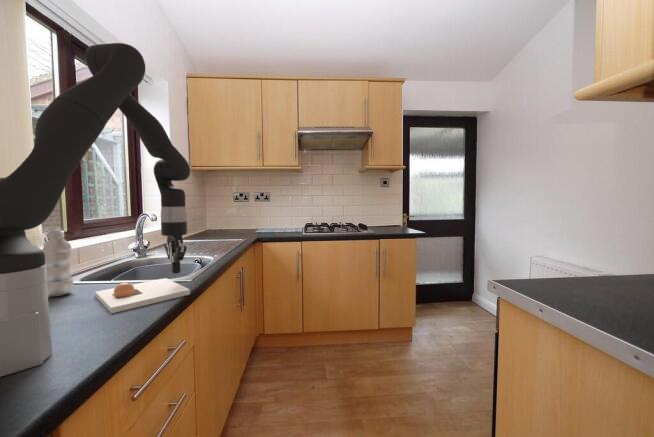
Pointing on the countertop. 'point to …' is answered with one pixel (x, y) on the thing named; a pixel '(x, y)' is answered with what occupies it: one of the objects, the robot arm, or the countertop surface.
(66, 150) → the robot arm
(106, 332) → the countertop surface
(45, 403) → the countertop surface
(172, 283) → the white square board
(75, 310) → the countertop surface
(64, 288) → the plastic bottle
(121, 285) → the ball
